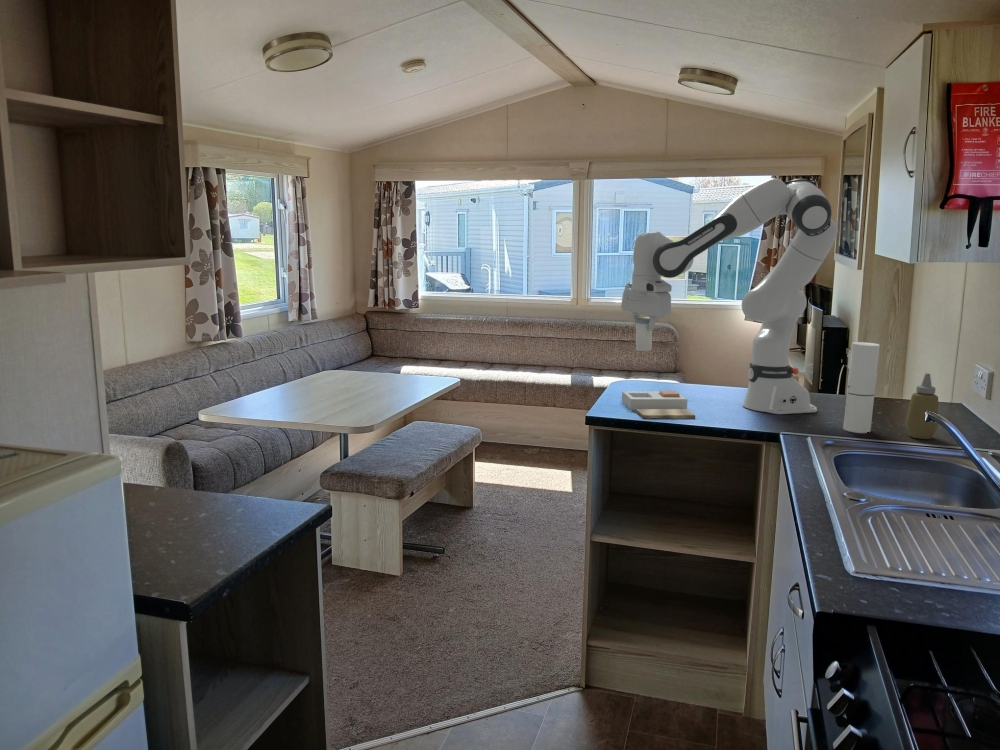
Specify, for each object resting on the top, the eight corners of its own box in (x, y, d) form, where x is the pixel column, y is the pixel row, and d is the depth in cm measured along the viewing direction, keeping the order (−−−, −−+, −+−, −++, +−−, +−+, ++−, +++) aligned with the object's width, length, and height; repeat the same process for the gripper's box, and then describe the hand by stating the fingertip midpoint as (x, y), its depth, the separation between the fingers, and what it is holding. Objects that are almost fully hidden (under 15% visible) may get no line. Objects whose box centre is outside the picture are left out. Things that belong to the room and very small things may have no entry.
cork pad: (686, 412, 240) (686, 409, 240) (695, 418, 232) (695, 415, 232) (636, 412, 239) (636, 409, 239) (642, 418, 231) (643, 415, 231)
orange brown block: (674, 402, 251) (674, 390, 251) (678, 406, 247) (679, 393, 246) (659, 402, 251) (659, 390, 250) (663, 406, 246) (664, 393, 245)
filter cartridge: (654, 349, 245) (655, 317, 243) (646, 351, 242) (646, 320, 239) (641, 347, 249) (641, 316, 246) (632, 349, 245) (632, 318, 243)
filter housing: (675, 401, 255) (675, 391, 254) (686, 410, 243) (687, 399, 243) (621, 401, 254) (622, 391, 253) (630, 410, 242) (631, 399, 241)
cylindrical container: (865, 427, 225) (874, 342, 221) (874, 433, 218) (883, 346, 214) (839, 426, 226) (848, 341, 221) (848, 432, 219) (857, 345, 214)
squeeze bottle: (922, 442, 210) (930, 377, 207) (897, 434, 218) (904, 372, 214) (943, 439, 213) (951, 375, 210) (917, 432, 221) (924, 370, 217)
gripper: (617, 282, 248) (615, 325, 251) (659, 286, 231) (656, 332, 233) (633, 282, 251) (631, 324, 254) (675, 286, 234) (673, 331, 236)
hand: (643, 328), depth 244 cm, fingers closed on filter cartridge, 5 cm apart
